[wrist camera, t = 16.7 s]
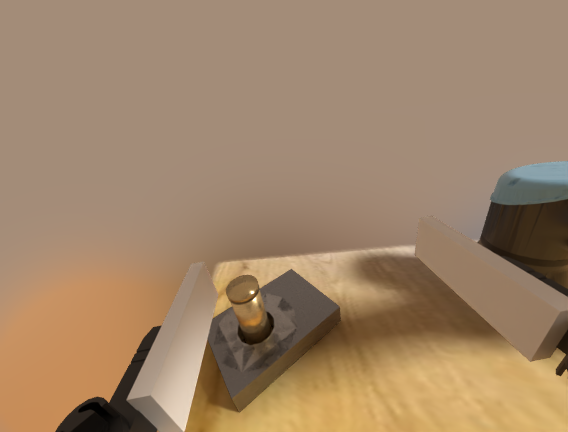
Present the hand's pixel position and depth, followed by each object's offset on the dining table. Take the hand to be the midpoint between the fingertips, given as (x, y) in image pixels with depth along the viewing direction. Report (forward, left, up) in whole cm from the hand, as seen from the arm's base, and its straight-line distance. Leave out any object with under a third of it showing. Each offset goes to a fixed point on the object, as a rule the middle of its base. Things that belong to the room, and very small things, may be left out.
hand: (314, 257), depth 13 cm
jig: (-2, -19, -30) cm, 35 cm away
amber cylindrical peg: (+1, -19, -30) cm, 35 cm away
